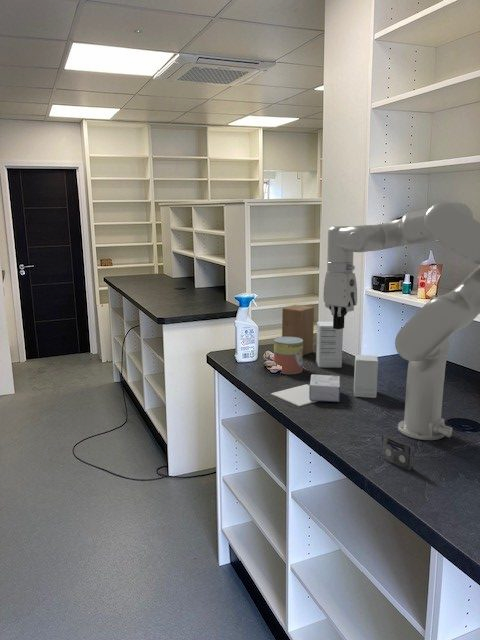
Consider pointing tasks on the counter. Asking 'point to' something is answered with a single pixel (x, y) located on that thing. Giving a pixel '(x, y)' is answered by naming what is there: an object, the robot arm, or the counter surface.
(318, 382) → the ink cartridge box
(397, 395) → the counter surface
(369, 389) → the supplement box
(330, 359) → the supplement box
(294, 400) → the mat
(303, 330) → the wooden block
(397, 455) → the mini dv tape
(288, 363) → the canned food
